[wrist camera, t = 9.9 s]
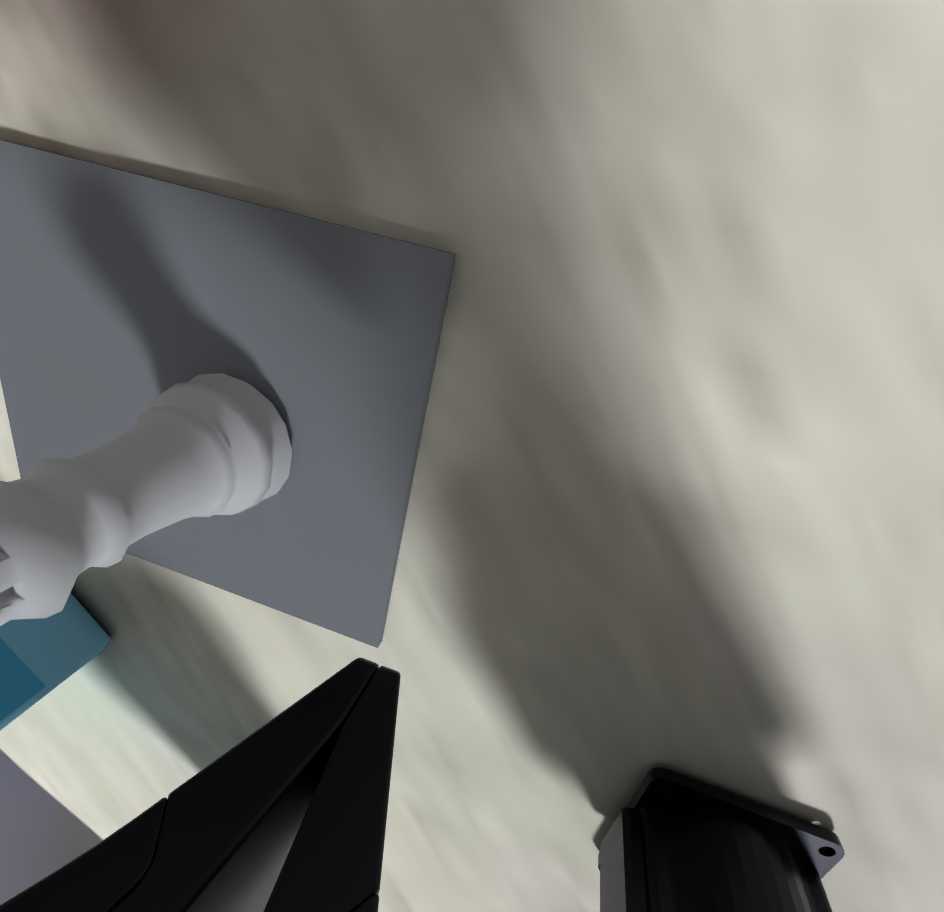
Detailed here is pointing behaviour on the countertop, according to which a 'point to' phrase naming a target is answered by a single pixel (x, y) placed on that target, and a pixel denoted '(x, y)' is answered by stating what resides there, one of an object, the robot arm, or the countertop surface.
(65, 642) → the data package
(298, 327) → the mat
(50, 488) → the rook chess piece
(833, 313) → the countertop surface
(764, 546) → the countertop surface
